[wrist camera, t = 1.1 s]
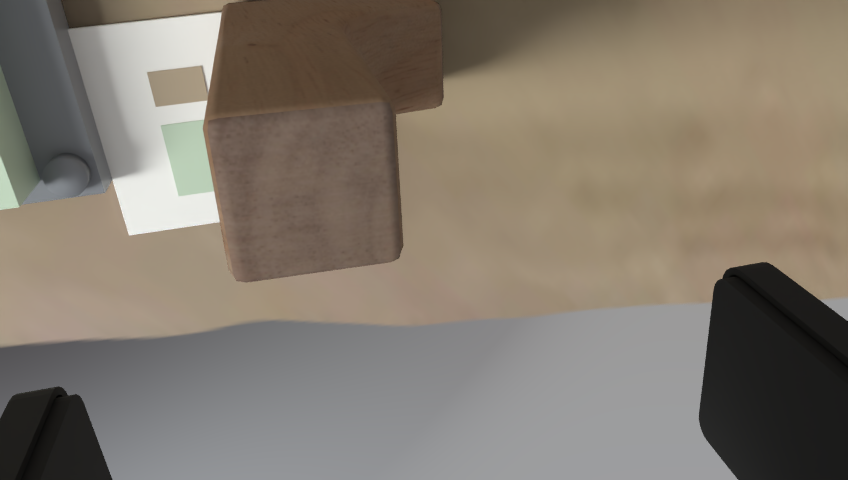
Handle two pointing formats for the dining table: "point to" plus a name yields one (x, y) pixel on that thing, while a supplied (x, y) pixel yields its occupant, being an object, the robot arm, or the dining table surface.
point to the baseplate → (44, 110)
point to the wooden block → (315, 129)
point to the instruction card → (153, 115)
